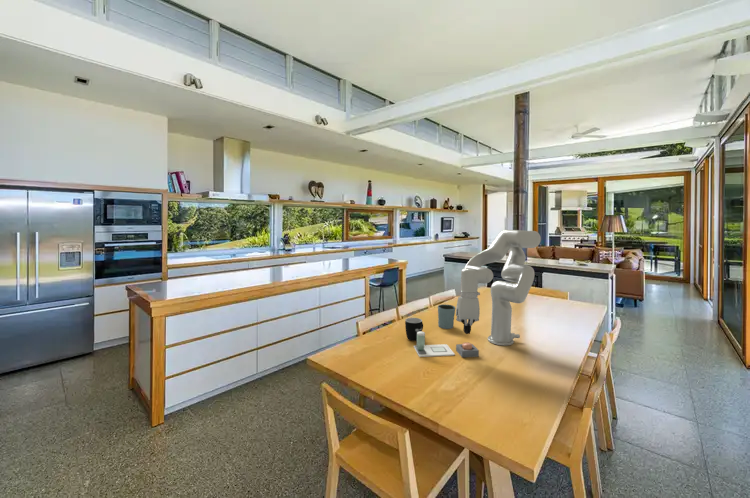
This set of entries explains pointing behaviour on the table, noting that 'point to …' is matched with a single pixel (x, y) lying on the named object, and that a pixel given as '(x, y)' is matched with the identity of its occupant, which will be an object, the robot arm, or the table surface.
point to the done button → (467, 346)
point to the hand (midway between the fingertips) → (467, 333)
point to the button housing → (467, 351)
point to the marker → (420, 340)
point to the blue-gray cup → (446, 316)
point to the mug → (413, 328)
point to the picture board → (435, 350)
